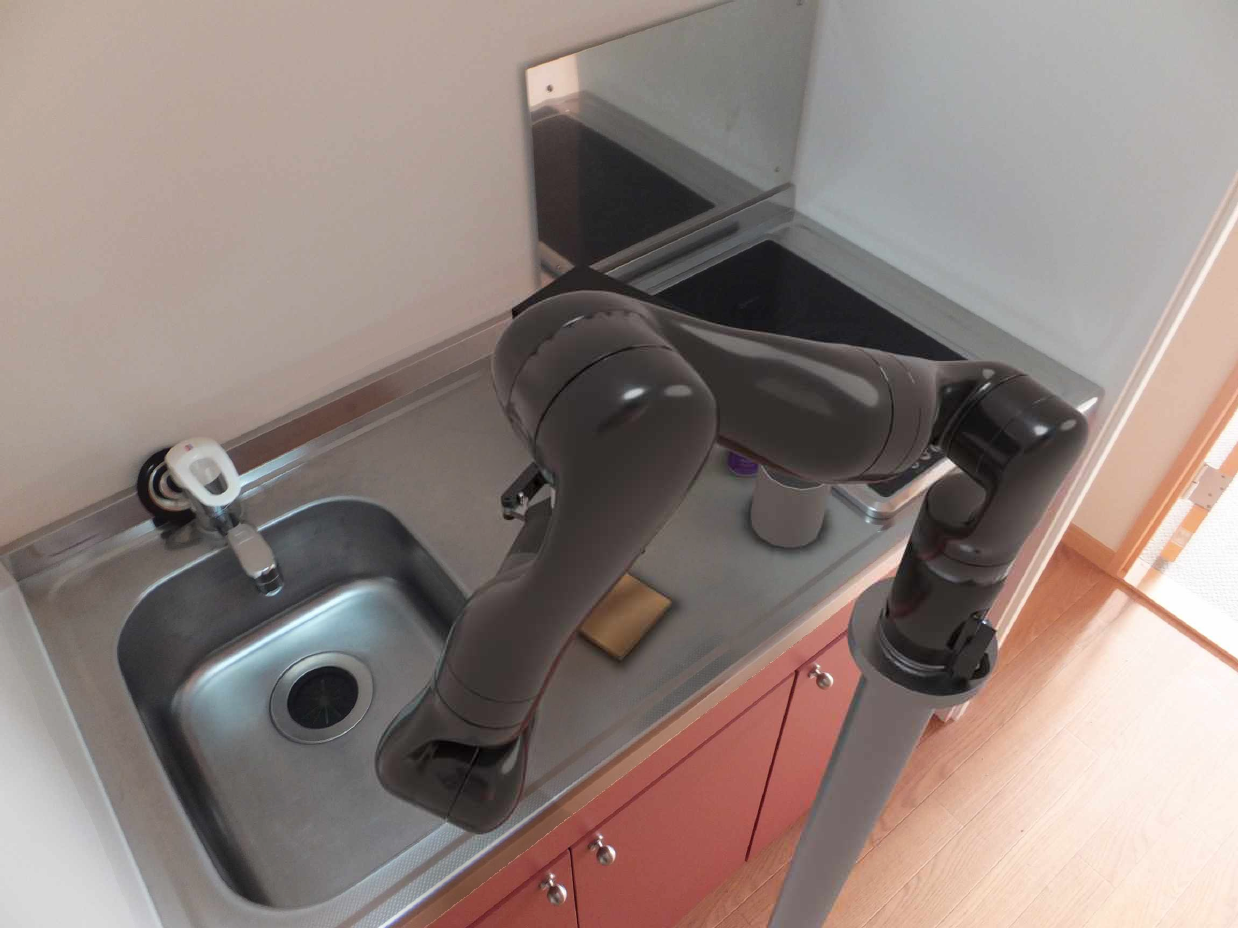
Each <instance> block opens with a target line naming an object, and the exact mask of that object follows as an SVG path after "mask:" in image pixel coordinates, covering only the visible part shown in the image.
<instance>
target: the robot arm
mask: <svg viewBox="0 0 1238 928" xmlns="http://www.w3.org/2000/svg"><path fill="white" fill-rule="evenodd" d="M490 362H491V363H490V375H491V382H492V386H493V389H494V393H495V396H496V399H497V401H498V404H499V406H500V409H501V410H502V413H503V414H504V416H505V418H506V420H507V422H508V424H509V426H510V427H511V429H512V430H513V432H514V433H515V435H517V437H518V439H519V440H520V442H521V444H522V445H523V447H524V448H525V450H526V451H527V453H528V454H529V456H530V457H531V459H532V460H533V461H532V462H531V463H529V464H528V466H526V468H525V469H524V470H523V472H522V473H520V475H518V477H517V478H516V479H515V480H514V481H513V482H512V483H511V484H510V485H509V486H508V488H507V489H506V490H505V491H504V492H503V493H502V494H501V495H500V503H501V504H500V506H501V512H502V517H503V519H504V520H505V521H513V520H515V519H517V520H520V521H521V522H524V523H523V525H522V526H521V528H520V530H519V531H518V533H517V535H516V537H515V539H514V541H513V543H512V545H511V546H510V548H509V550H508V552H507V553H506V555H505V557H504V559H503V561H502V563H501V564H500V566H499V568H498V570H497V571H496V574H495V576H494V577H492V578H491V579H489V580H488V581H486V582H485V583H483V584H482V585H481V586H479V587H478V588H477V589H476V590H475V591H474V592H473V593H472V594H471V596H470V597H469V598H467V600H466V601H465V603H464V604H463V605H462V607H461V609H460V610H459V611H458V613H457V615H456V617H455V619H454V621H453V624H452V626H451V628H450V631H449V633H448V635H447V637H446V640H445V643H444V646H443V649H442V651H441V654H440V656H439V659H438V661H437V664H436V666H435V669H434V671H433V673H432V675H431V677H430V679H429V681H428V682H427V683H426V685H424V687H423V688H422V689H421V690H420V691H419V692H418V693H417V694H416V695H415V696H414V697H413V698H412V699H410V700H409V702H408V703H407V704H406V705H404V706H403V707H402V709H401V710H399V712H398V713H397V714H396V715H395V716H394V718H393V719H392V720H391V722H390V723H389V724H388V725H387V727H386V729H384V732H383V734H382V735H381V737H380V738H379V741H378V743H377V747H376V750H375V754H374V771H375V776H376V778H377V781H378V782H379V784H380V786H381V787H382V789H383V790H385V792H387V794H389V795H390V796H392V797H393V798H395V799H397V800H400V801H401V802H403V803H406V804H407V805H411V806H412V807H414V808H416V809H419V810H421V811H423V812H425V813H426V814H429V815H431V816H433V817H435V818H437V819H439V820H441V821H444V822H445V821H446V823H448V824H450V825H451V826H454V827H456V828H458V829H459V830H462V831H464V832H466V833H469V834H473V835H479V836H480V835H486V834H489V833H492V832H493V831H495V830H497V829H498V828H500V827H502V826H503V825H504V824H506V822H507V821H508V820H509V819H510V818H511V817H512V815H513V814H514V813H515V810H516V809H517V807H518V805H519V803H520V801H521V798H522V796H523V795H522V794H523V792H524V788H525V782H526V778H527V774H528V773H527V771H528V766H529V765H528V764H529V757H530V756H529V755H530V747H531V746H530V745H531V736H532V731H533V723H534V719H535V713H536V711H537V708H538V706H539V704H540V703H541V701H542V698H543V697H544V694H545V692H546V691H547V689H548V687H549V685H550V682H551V680H552V678H553V676H554V674H555V673H556V670H557V668H558V667H559V665H560V663H561V661H562V659H563V657H564V655H565V653H566V652H567V651H568V648H569V647H570V645H572V643H573V640H575V638H576V636H577V635H578V633H579V630H580V629H581V628H582V626H583V625H584V624H585V623H586V621H587V620H588V619H589V617H590V616H591V615H592V614H593V612H594V611H595V610H596V609H597V608H598V606H599V605H600V604H601V603H602V602H603V600H604V599H605V598H606V597H607V596H608V594H609V593H610V592H611V591H612V590H613V588H614V587H615V586H616V585H617V584H618V582H619V581H620V580H621V579H622V578H623V576H624V575H625V574H626V573H627V574H628V572H629V570H630V569H631V568H632V567H633V566H634V564H635V563H636V562H637V560H638V559H639V558H640V556H641V555H644V554H645V553H646V550H647V548H648V546H649V545H650V543H651V542H652V541H653V540H654V539H655V538H656V536H657V535H658V533H659V532H660V531H661V529H662V528H663V527H664V526H665V524H666V523H667V522H668V521H669V519H670V518H671V517H672V516H673V514H674V513H675V512H676V511H677V509H678V508H679V506H681V504H682V503H683V501H684V500H685V498H686V497H687V496H688V495H689V493H690V492H691V490H692V489H693V487H694V486H695V484H696V483H697V481H698V480H699V478H700V477H701V475H702V473H703V472H704V470H705V468H706V466H707V465H708V463H709V461H710V459H711V458H712V454H713V452H714V450H715V448H716V446H720V447H721V448H723V449H724V450H727V451H728V450H729V451H731V452H733V453H736V454H738V455H740V456H742V457H744V458H746V459H748V460H751V461H753V462H755V463H757V464H759V465H762V466H764V467H766V468H768V469H771V470H773V471H775V472H778V473H780V474H783V475H786V476H788V477H792V478H795V479H799V480H803V481H807V482H812V483H822V484H832V485H863V484H876V483H881V482H885V481H886V482H887V481H890V480H893V479H895V478H897V477H899V476H901V475H903V474H905V473H906V472H907V471H909V470H910V469H912V468H913V467H914V466H916V464H917V463H918V462H919V461H920V459H921V458H923V456H924V455H925V454H926V452H927V450H928V449H929V447H931V448H933V449H934V450H936V451H937V452H939V453H940V454H942V455H943V456H944V457H946V458H947V459H948V460H949V461H950V462H952V464H954V465H955V466H956V467H957V468H958V469H959V470H961V471H962V472H956V473H950V474H948V475H945V476H943V477H941V478H939V479H937V480H936V481H934V483H933V484H932V485H931V486H930V487H929V488H928V490H927V491H926V493H925V495H924V498H923V500H922V502H921V505H920V508H919V511H918V514H917V517H916V519H915V522H914V525H913V528H912V531H911V533H910V535H909V538H908V540H907V543H906V546H905V549H904V551H903V554H902V557H901V559H900V561H899V565H898V568H897V570H896V573H895V575H894V576H895V578H894V580H893V583H892V586H891V588H890V591H889V594H888V597H887V599H886V594H885V596H884V600H883V608H882V610H881V613H880V616H879V620H878V629H879V634H880V637H881V639H882V641H883V643H884V645H885V646H886V647H887V649H888V650H889V651H890V652H891V653H892V654H893V655H894V656H895V657H896V658H898V659H899V660H900V661H902V662H904V663H905V664H907V665H909V666H911V667H914V668H917V669H920V670H924V671H931V672H938V671H943V672H945V673H947V674H949V675H951V676H954V675H955V673H956V672H957V673H958V674H960V675H962V676H963V678H964V679H965V680H966V681H969V680H976V679H981V678H983V677H985V676H986V675H987V674H988V673H989V671H990V662H989V655H988V654H987V653H985V652H986V650H987V648H988V647H989V645H990V643H991V641H992V639H993V637H994V636H995V635H996V634H997V632H998V630H997V629H995V628H994V627H993V626H992V627H993V628H992V627H990V626H988V625H986V622H985V621H986V619H987V618H989V615H990V613H991V612H992V610H993V609H994V608H993V607H994V606H995V604H996V603H997V600H998V598H999V596H1000V594H1001V592H1002V591H1003V589H1004V587H1005V582H1006V580H1007V578H1008V576H1009V574H1010V572H1011V570H1012V568H1013V567H1014V564H1015V562H1016V561H1017V559H1018V557H1019V556H1020V553H1021V551H1022V550H1023V548H1024V546H1025V544H1026V542H1027V541H1028V539H1030V536H1031V535H1032V534H1033V533H1034V531H1035V530H1036V529H1037V527H1038V526H1039V525H1040V523H1041V522H1042V520H1043V519H1044V517H1045V516H1046V514H1047V512H1048V510H1049V509H1050V507H1051V505H1052V503H1053V502H1054V500H1055V498H1056V496H1057V495H1058V493H1059V492H1060V490H1061V489H1062V487H1063V485H1064V484H1065V482H1066V481H1067V479H1068V477H1069V476H1070V475H1071V473H1072V472H1073V470H1074V468H1075V467H1076V466H1077V464H1078V462H1079V461H1080V459H1081V457H1082V455H1083V453H1084V451H1085V449H1086V447H1087V444H1088V441H1089V437H1090V431H1091V429H1090V423H1089V420H1088V419H1087V417H1086V416H1085V415H1084V414H1083V413H1082V412H1081V411H1079V410H1078V409H1077V408H1075V407H1074V406H1073V405H1072V404H1070V403H1069V402H1067V401H1066V400H1065V399H1063V398H1062V397H1060V396H1059V395H1058V394H1056V393H1055V392H1054V391H1052V390H1051V389H1049V388H1048V387H1047V386H1045V385H1044V384H1042V383H1041V382H1040V381H1039V380H1037V379H1035V377H1032V376H1031V375H1030V374H1028V372H1026V371H1024V370H1022V369H1021V368H1019V367H1017V366H1015V365H1013V364H1010V363H1007V362H1004V361H1000V360H993V359H992V360H991V359H974V360H973V359H972V360H971V359H970V360H969V359H967V360H931V359H927V358H923V357H918V356H910V355H904V354H898V353H893V352H889V351H885V350H881V349H875V348H869V347H863V346H858V345H853V344H852V345H850V344H846V343H837V342H826V341H818V340H813V339H807V338H802V337H801V338H800V337H795V336H790V335H783V334H778V333H771V332H764V331H757V330H749V329H743V328H737V327H732V326H727V325H723V324H718V323H715V322H711V321H708V320H707V321H704V320H701V319H698V318H694V317H691V316H688V315H685V314H681V313H678V312H675V311H672V310H669V309H666V308H663V307H660V306H657V305H654V304H651V303H648V302H645V301H642V300H638V299H635V298H632V297H629V296H626V295H622V294H618V293H613V292H608V291H591V290H584V291H576V292H569V293H564V294H560V295H557V296H554V297H551V298H547V299H545V300H543V301H541V302H539V303H537V304H535V305H533V306H531V307H529V308H528V309H526V310H525V311H524V312H522V313H521V314H520V315H518V316H517V317H516V318H514V320H513V319H512V320H511V321H510V323H509V324H508V325H507V326H506V327H505V328H504V329H503V331H502V332H501V334H500V336H499V337H498V339H497V340H496V343H495V346H494V348H493V350H492V356H491V360H490ZM545 485H549V486H550V496H549V497H546V498H545V499H542V500H541V501H539V502H536V503H535V504H532V505H530V501H532V500H533V498H534V497H535V496H536V495H538V493H539V492H540V491H541V489H542V488H543V487H544V486H545ZM886 592H887V591H886ZM978 664H980V666H979V668H978V669H976V667H977V666H978Z"/></svg>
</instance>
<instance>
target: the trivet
mask: <svg viewBox="0 0 1238 928" xmlns="http://www.w3.org/2000/svg"><path fill="white" fill-rule="evenodd" d="M671 606H672V601H671V600H670V599H669V598H667V597H666V596H663V595H662V594H661V593H659V592H658V591H656V590H654V589H652V587H649V586H648V585H646V584H645V583H643V582H642V581H640V580H638V579H637V578H636V577H634V576H632V575H630V574H629V573H628V572H627V573H626V574H625V575H624V576H623V578H622V579H621V580H620V581H619V582H618V584H617V585H616V586H615V587H614V588H613V590H612V591H611V592H610V593H609V594H608V596H607V597H606V598H605V599H604V600H603V602H602V603H601V604H600V605H599V606H598V608H597V609H596V610H595V611H594V612H593V614H592V615H591V616H590V617H589V619H588V620H587V621H586V623H585V624H584V625H583V626H582V628H581V629H580V630H579V632H578V633H579V634H581V635H582V636H584V637H585V638H587V639H588V640H590V641H591V642H592V643H594V644H595V645H596V646H598V647H600V648H601V649H602V650H604V651H605V652H607V653H608V654H609V655H611V656H612V657H614V658H615V659H617V660H618V661H620V662H621V661H622V660H623V659H624V657H626V655H627V654H629V652H630V651H631V650H632V649H633V648H634V647H635V646H636V644H637V643H638V642H639V641H640V640H641V639H642V638H643V637H644V636H645V635H646V634H647V632H648V631H649V630H650V629H651V628H652V627H653V626H654V625H655V624H656V623H657V622H658V620H659V619H660V618H661V617H662V616H663V615H664V614H665V613H666V611H667V610H668V609H669V608H670V607H671Z"/></svg>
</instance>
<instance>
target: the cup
mask: <svg viewBox="0 0 1238 928" xmlns="http://www.w3.org/2000/svg"><path fill="white" fill-rule="evenodd" d="M754 484H755V485H754V491H753V496H752V503H751V504H752V505H751V508H750V522H751V527H752V529H753V530H754V531H755V533H756V534H757V536H758V537H759V538H760V539H762V540H764V541H766V542H767V543H769V544H770V545H772V546H774V547H775V546H776V547H782V548H786V549H793V548H800V547H805V546H807V545H808V544H810V543H811V542H813V541H814V540H816V539H817V537H818V534H819V532H820V531H821V529H822V525H823V522H824V517H825V513H826V509H827V505H828V501H829V499H830V494H831V490H832V486H833V484H822V483H812V482H807V481H803V480H799V479H795V478H792V477H788V476H786V475H783V474H780V473H778V472H775V471H773V470H771V469H768V468H766V467H764V466H762V465H759V466H758V472H757V475H756V479H755V483H754Z"/></svg>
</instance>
